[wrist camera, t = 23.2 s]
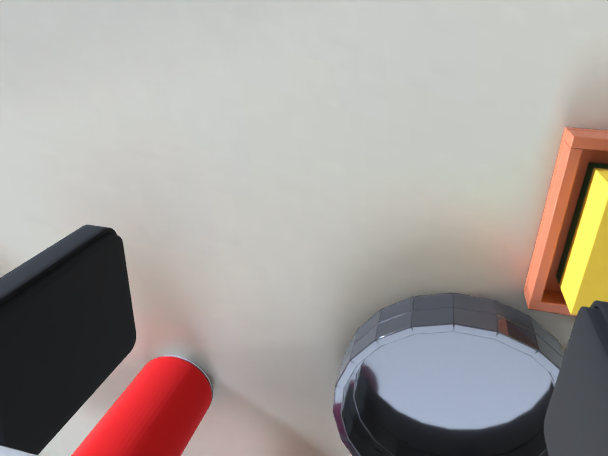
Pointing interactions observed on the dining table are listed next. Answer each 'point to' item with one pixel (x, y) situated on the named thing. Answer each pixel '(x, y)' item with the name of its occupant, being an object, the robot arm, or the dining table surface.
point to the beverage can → (153, 412)
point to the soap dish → (561, 216)
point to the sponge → (587, 244)
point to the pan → (447, 380)
